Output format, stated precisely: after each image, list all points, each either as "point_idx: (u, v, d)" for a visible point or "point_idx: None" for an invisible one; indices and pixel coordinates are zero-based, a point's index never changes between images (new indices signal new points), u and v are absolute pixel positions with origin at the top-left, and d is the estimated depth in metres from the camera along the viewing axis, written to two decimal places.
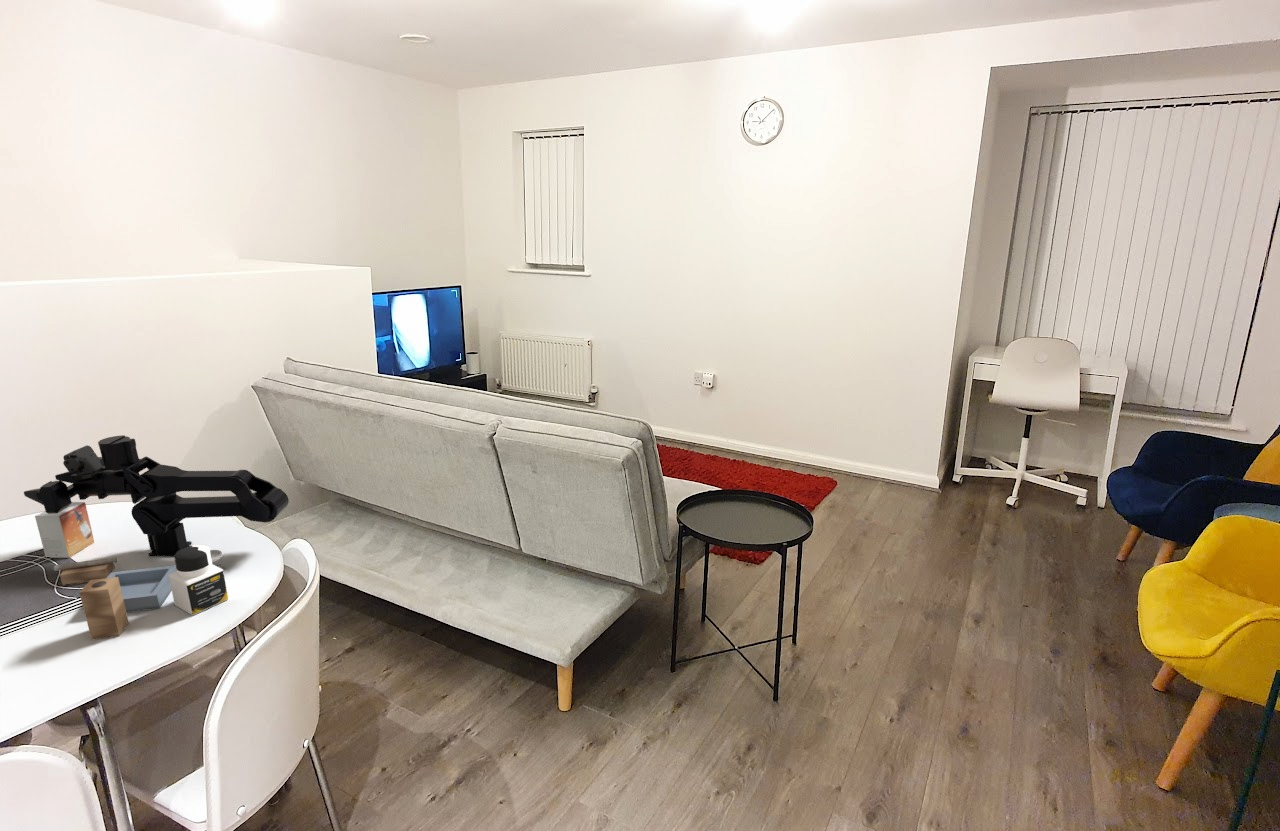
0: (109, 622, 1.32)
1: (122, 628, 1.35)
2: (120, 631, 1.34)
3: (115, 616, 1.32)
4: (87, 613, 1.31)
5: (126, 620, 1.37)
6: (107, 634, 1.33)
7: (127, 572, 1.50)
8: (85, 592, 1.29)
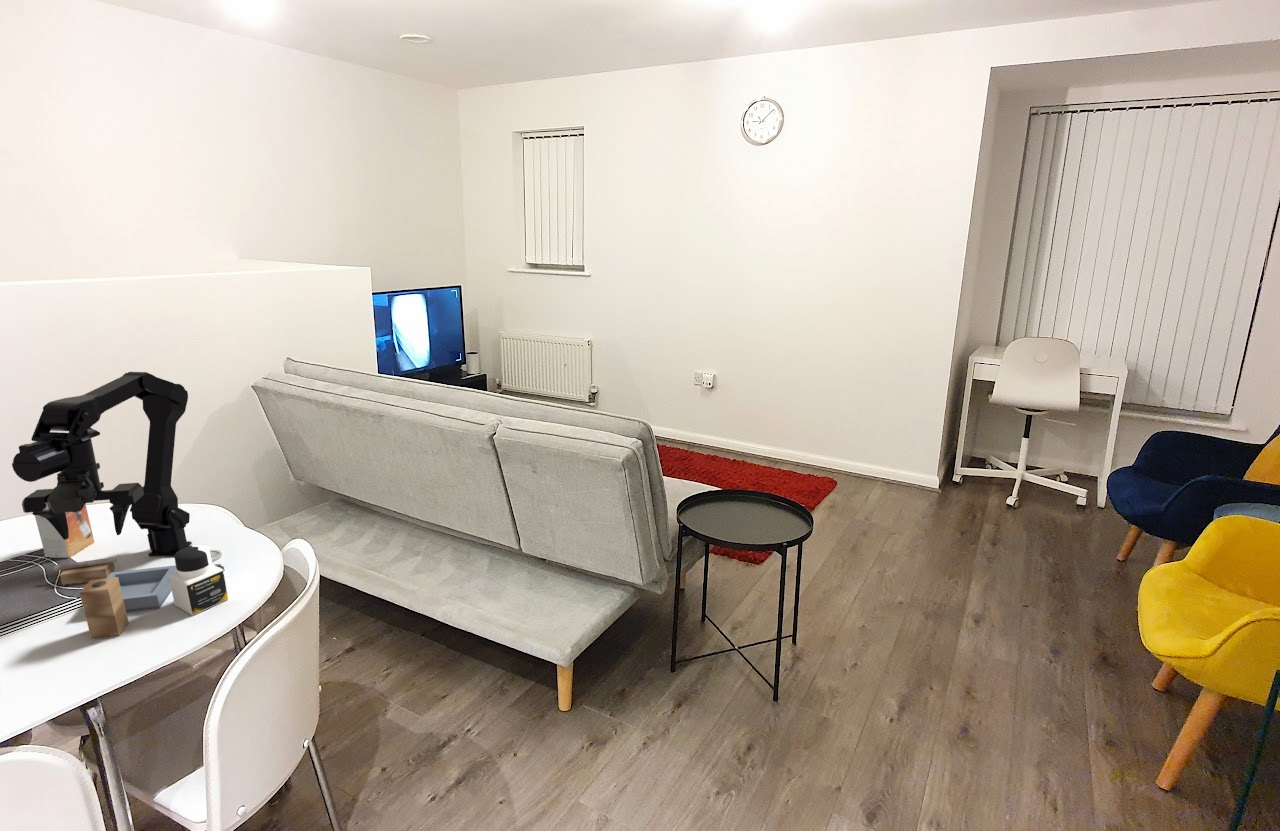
0: (109, 622, 1.32)
1: (122, 628, 1.35)
2: (120, 631, 1.34)
3: (115, 615, 1.32)
4: (87, 613, 1.31)
5: (126, 620, 1.37)
6: (107, 634, 1.33)
7: (127, 572, 1.50)
8: (85, 592, 1.29)
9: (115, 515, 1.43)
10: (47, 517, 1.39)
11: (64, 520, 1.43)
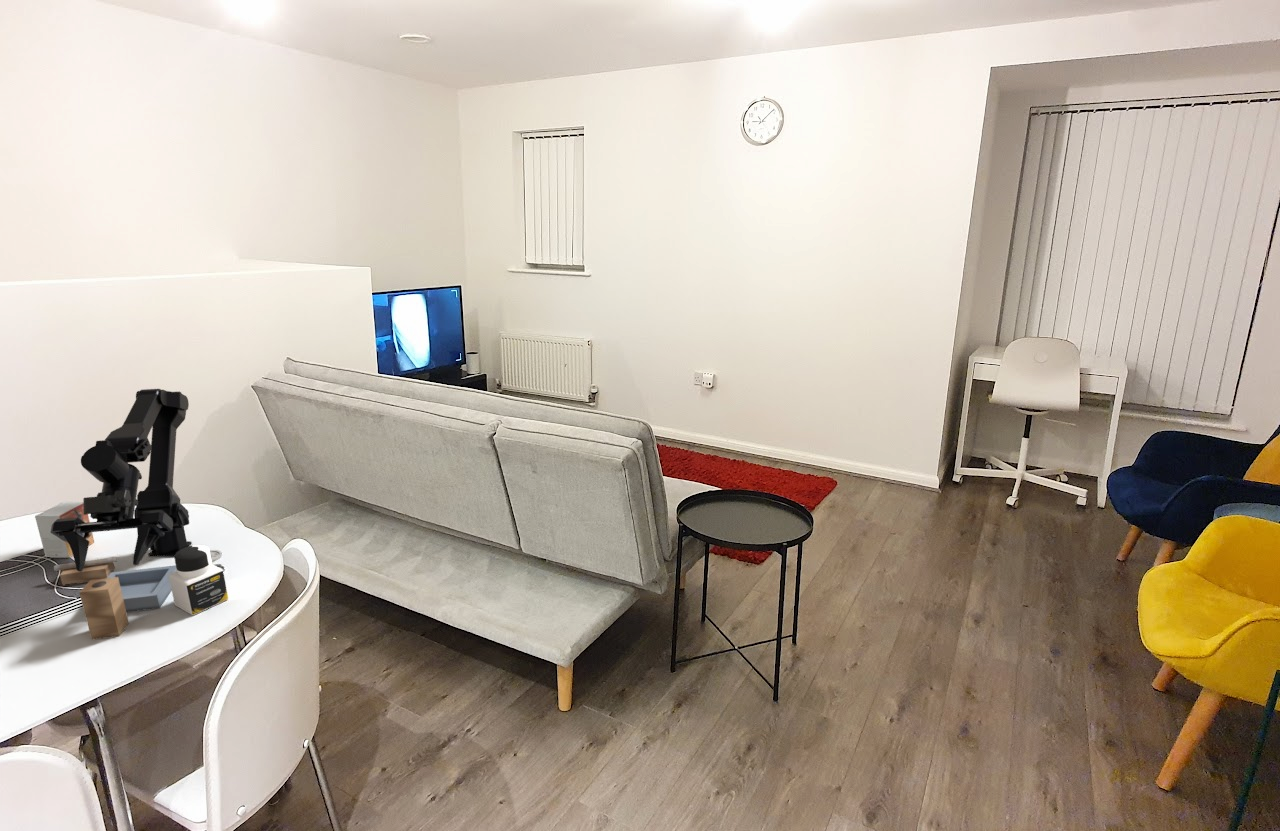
0: (109, 622, 1.32)
1: (122, 628, 1.35)
2: (120, 631, 1.34)
3: (115, 616, 1.32)
4: (87, 613, 1.31)
5: (126, 620, 1.37)
6: (107, 634, 1.33)
7: (127, 572, 1.50)
8: (85, 592, 1.29)
9: (139, 539, 1.38)
10: (70, 540, 1.35)
11: (84, 554, 1.36)
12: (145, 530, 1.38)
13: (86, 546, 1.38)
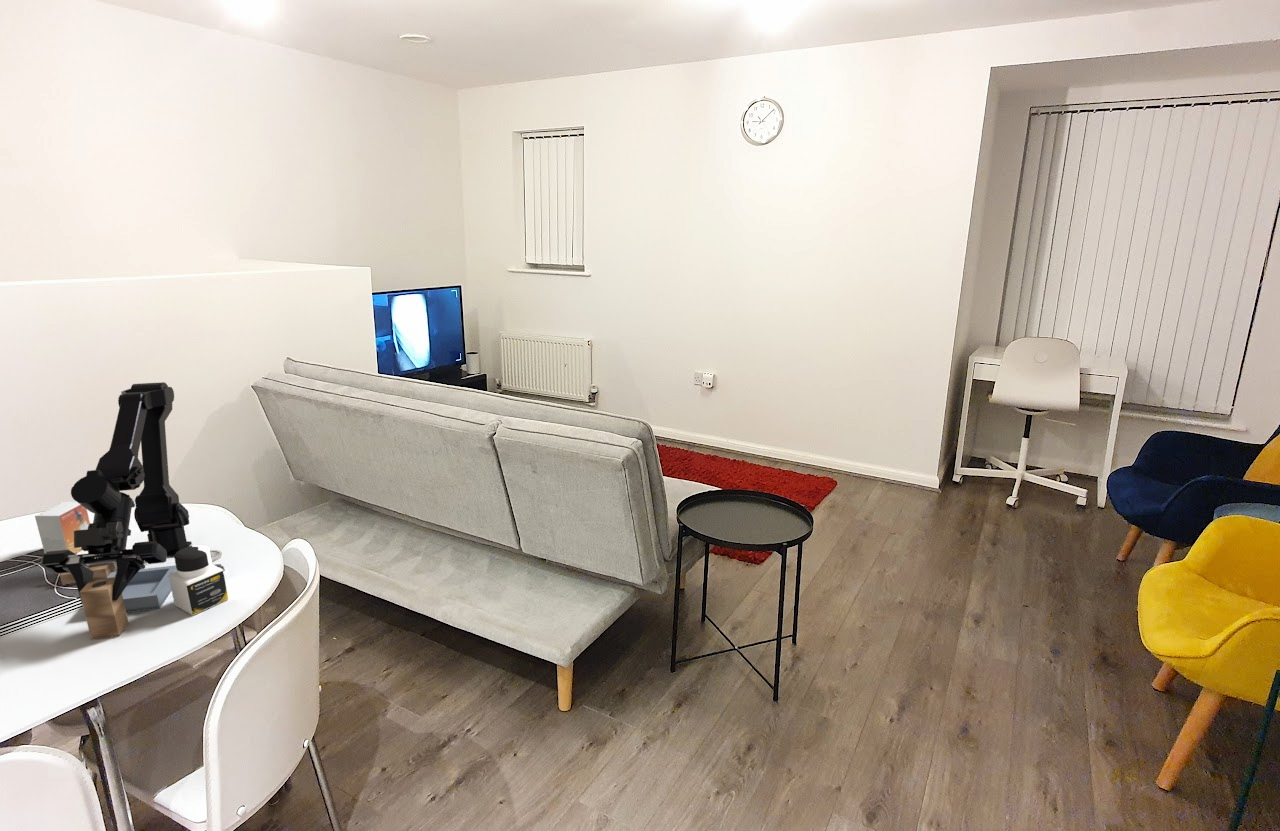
0: (109, 622, 1.32)
1: (122, 628, 1.35)
2: (120, 631, 1.34)
3: (115, 615, 1.32)
4: (87, 613, 1.31)
5: (126, 620, 1.37)
6: (107, 634, 1.33)
7: None
8: (85, 592, 1.29)
9: (118, 573, 1.33)
10: (75, 572, 1.31)
11: None
12: (125, 564, 1.33)
13: (90, 577, 1.35)
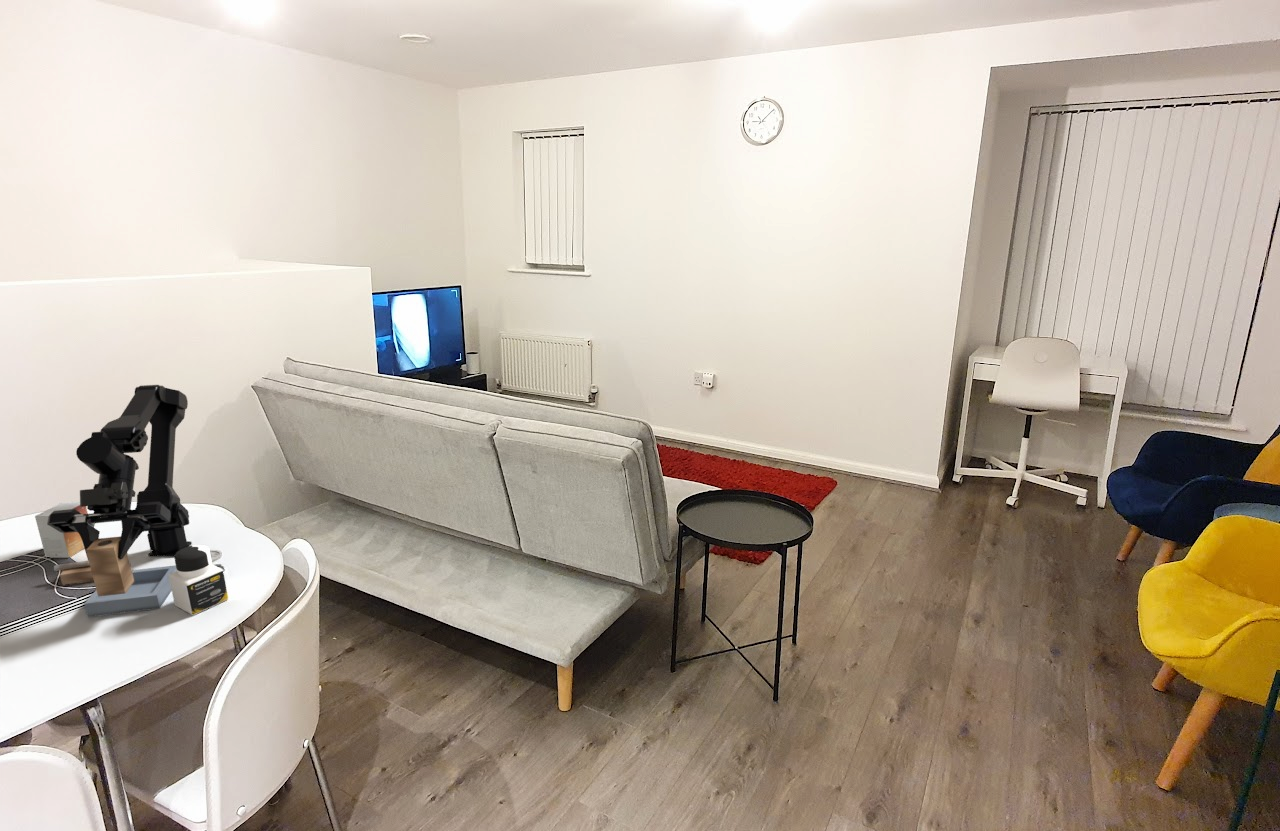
0: (115, 580, 1.36)
1: (128, 586, 1.38)
2: (126, 589, 1.37)
3: (121, 573, 1.36)
4: (94, 571, 1.34)
5: (132, 578, 1.40)
6: (113, 591, 1.36)
7: None
8: (91, 550, 1.33)
9: (123, 532, 1.36)
10: (81, 531, 1.35)
11: None
12: (130, 523, 1.36)
13: (96, 536, 1.38)
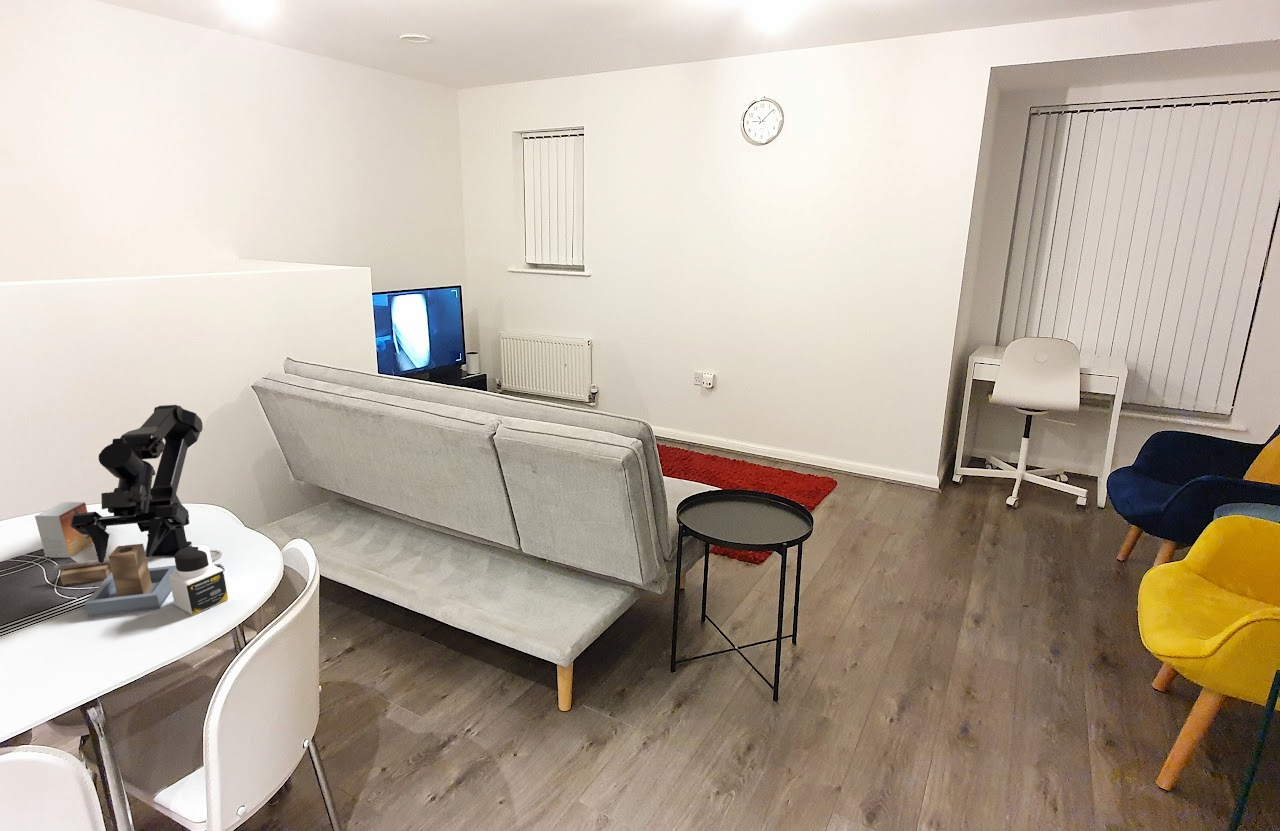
0: (135, 585, 1.43)
1: (146, 591, 1.46)
2: (145, 593, 1.45)
3: (140, 579, 1.44)
4: (115, 576, 1.42)
5: (150, 584, 1.48)
6: None
7: None
8: (113, 556, 1.41)
9: (151, 532, 1.44)
10: (92, 533, 1.42)
11: (105, 546, 1.44)
12: (157, 524, 1.45)
13: (106, 539, 1.45)
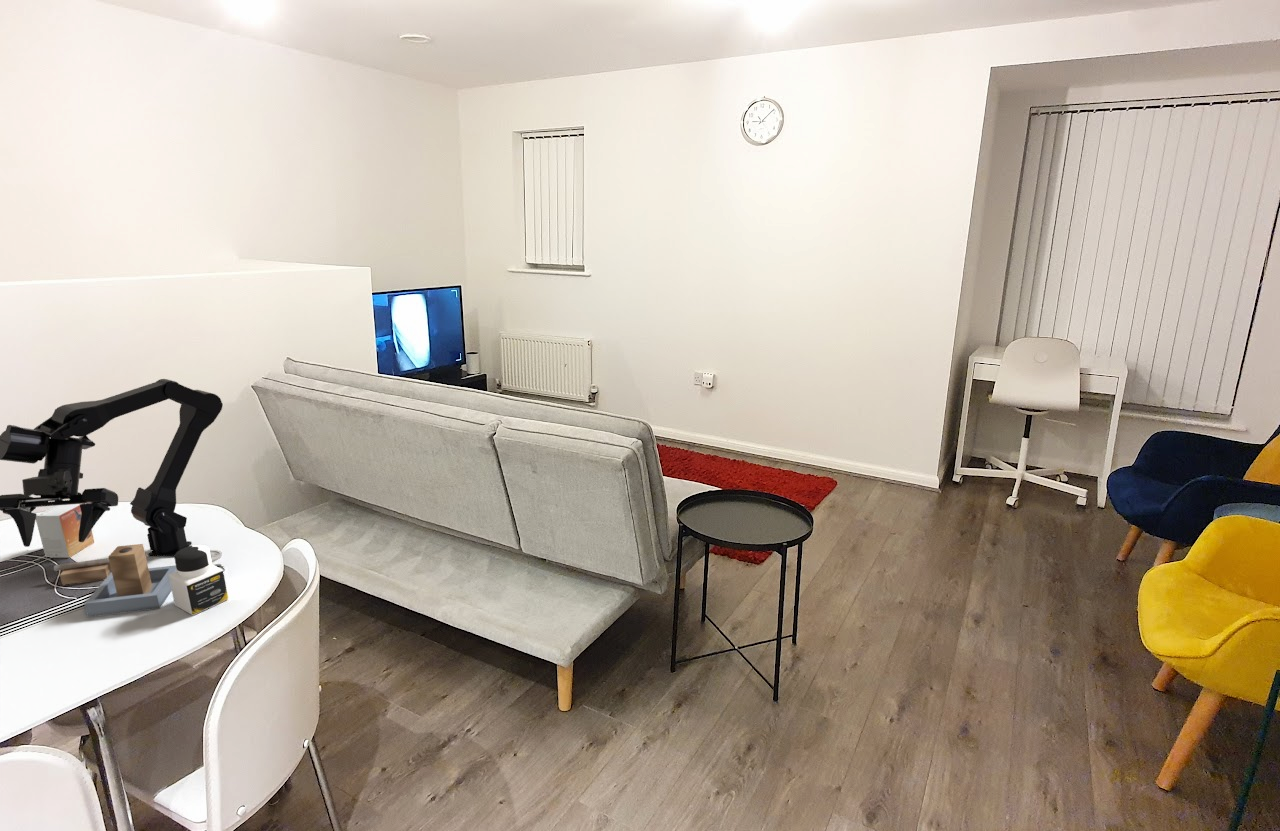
0: (135, 585, 1.43)
1: (146, 591, 1.46)
2: None
3: (140, 579, 1.44)
4: (115, 576, 1.42)
5: (150, 584, 1.48)
6: None
7: None
8: (113, 556, 1.41)
9: (83, 516, 1.40)
10: (15, 517, 1.38)
11: (31, 528, 1.40)
12: (88, 509, 1.40)
13: (33, 520, 1.41)
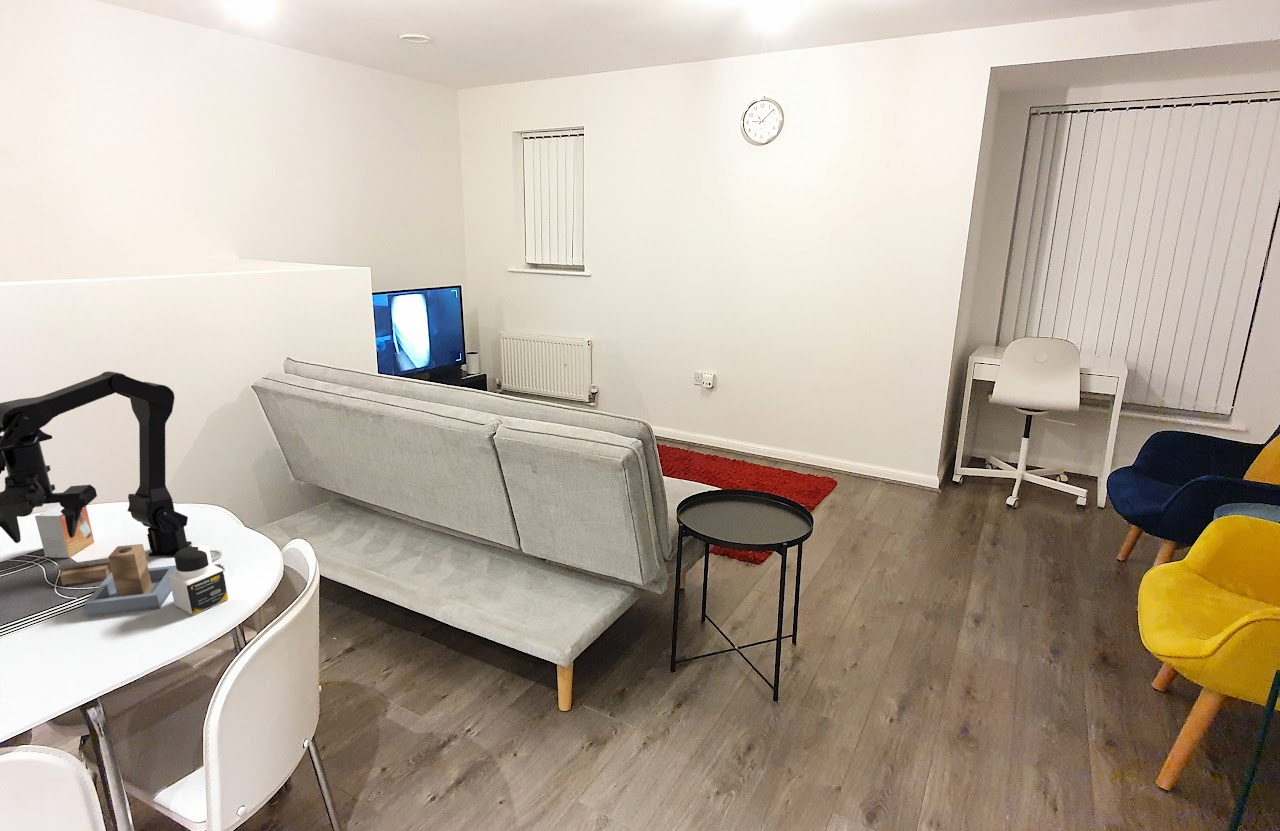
0: (135, 585, 1.43)
1: (146, 591, 1.46)
2: None
3: (140, 579, 1.44)
4: (115, 576, 1.42)
5: (150, 584, 1.48)
6: None
7: None
8: (113, 556, 1.41)
9: (67, 518, 1.41)
10: None
11: (15, 523, 1.41)
12: (71, 513, 1.40)
13: None
